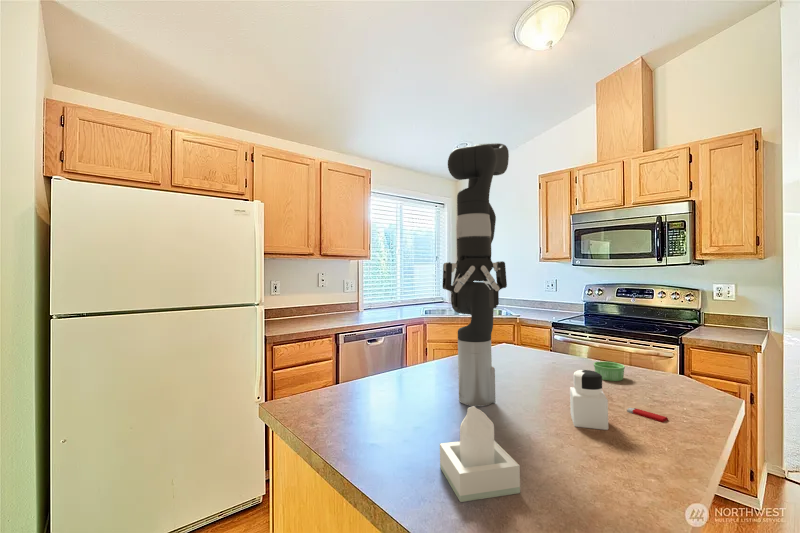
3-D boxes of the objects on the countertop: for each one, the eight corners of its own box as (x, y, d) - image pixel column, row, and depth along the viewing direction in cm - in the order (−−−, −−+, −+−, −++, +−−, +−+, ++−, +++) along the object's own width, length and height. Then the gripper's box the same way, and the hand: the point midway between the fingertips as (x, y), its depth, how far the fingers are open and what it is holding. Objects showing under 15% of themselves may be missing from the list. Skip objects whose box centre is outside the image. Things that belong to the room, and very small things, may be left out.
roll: (495, 401, 66) (491, 413, 61) (496, 468, 66) (492, 485, 61) (462, 398, 68) (455, 408, 63) (463, 462, 68) (457, 478, 63)
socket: (492, 460, 71) (491, 437, 71) (520, 493, 60) (519, 465, 60) (440, 467, 69) (439, 443, 69) (460, 502, 58) (459, 473, 58)
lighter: (662, 419, 86) (626, 408, 93) (662, 424, 86) (626, 413, 93) (667, 416, 88) (632, 406, 95) (667, 421, 88) (632, 411, 95)
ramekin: (631, 381, 117) (630, 368, 117) (602, 382, 117) (602, 368, 117) (615, 373, 126) (614, 361, 126) (588, 374, 126) (588, 361, 126)
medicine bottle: (602, 418, 89) (601, 369, 89) (608, 430, 83) (607, 377, 83) (570, 415, 92) (569, 366, 92) (573, 426, 85) (572, 374, 85)
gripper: (495, 237, 87) (497, 305, 87) (438, 237, 84) (439, 308, 84) (511, 234, 80) (513, 309, 80) (448, 234, 77) (450, 311, 77)
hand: (475, 308), depth 82 cm, fingers open, 8 cm apart
